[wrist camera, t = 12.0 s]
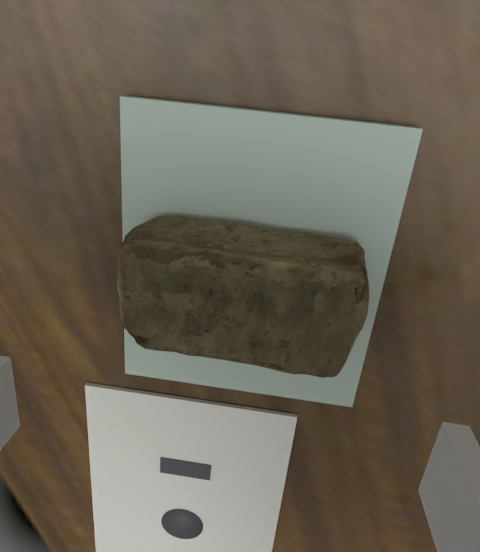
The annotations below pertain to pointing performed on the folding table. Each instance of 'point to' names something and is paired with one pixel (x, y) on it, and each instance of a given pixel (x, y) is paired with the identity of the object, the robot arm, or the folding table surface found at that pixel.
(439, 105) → the folding table surface
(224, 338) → the stone block
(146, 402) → the board
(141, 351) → the sage pad
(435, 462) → the robot arm
